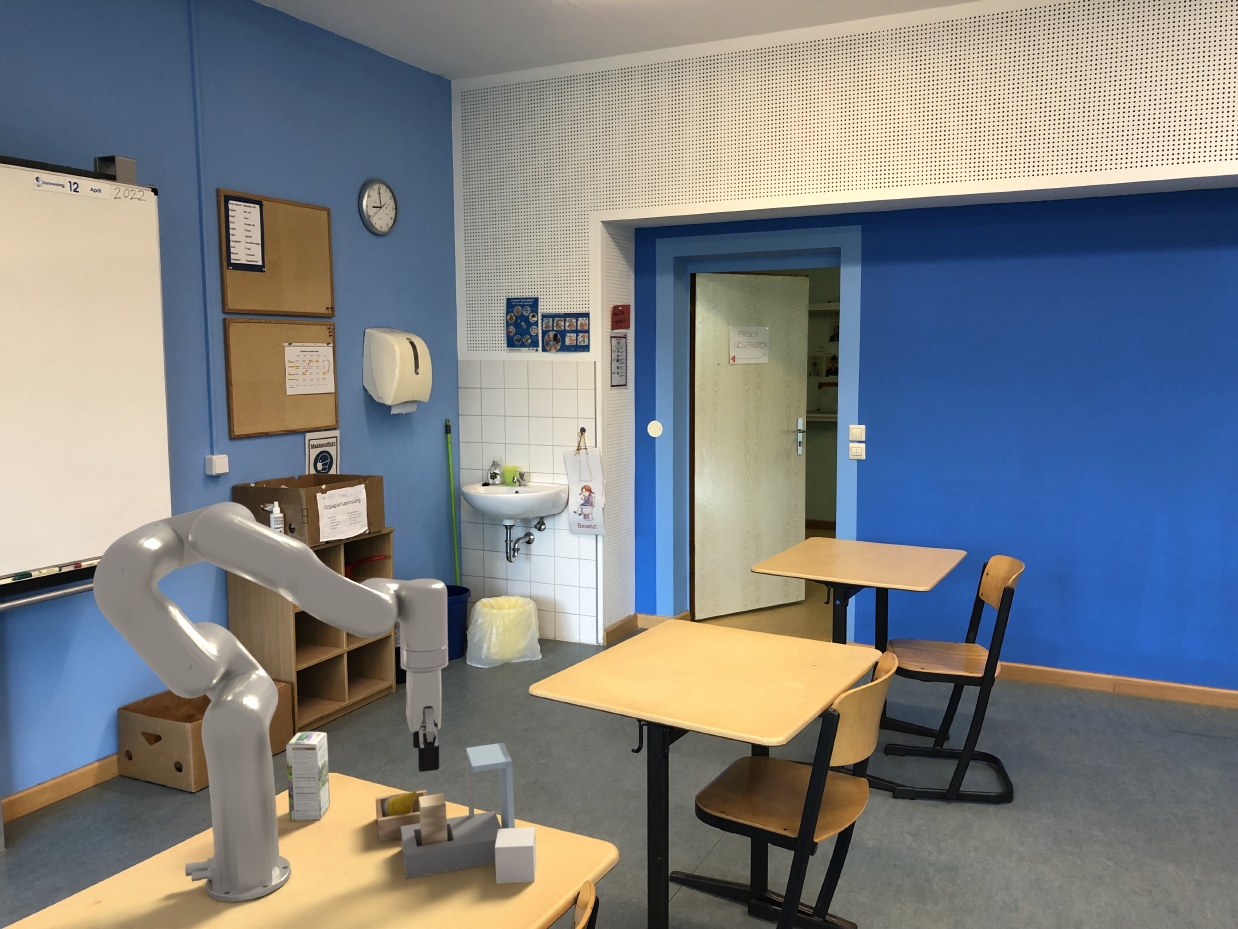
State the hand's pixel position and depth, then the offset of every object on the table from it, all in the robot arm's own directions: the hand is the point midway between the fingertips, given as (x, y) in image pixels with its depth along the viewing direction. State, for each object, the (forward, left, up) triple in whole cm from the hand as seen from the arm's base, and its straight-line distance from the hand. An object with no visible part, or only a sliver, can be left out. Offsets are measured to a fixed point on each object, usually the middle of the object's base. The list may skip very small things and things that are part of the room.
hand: (425, 758), depth 154 cm
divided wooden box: (-3, +13, -17) cm, 22 cm away
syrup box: (-19, +24, -18) cm, 35 cm away
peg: (+1, 0, -17) cm, 17 cm away
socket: (+4, 0, -17) cm, 18 cm away
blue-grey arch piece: (+10, +1, -17) cm, 20 cm away
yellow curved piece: (-3, +13, -17) cm, 22 cm away
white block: (+13, -9, -18) cm, 24 cm away
